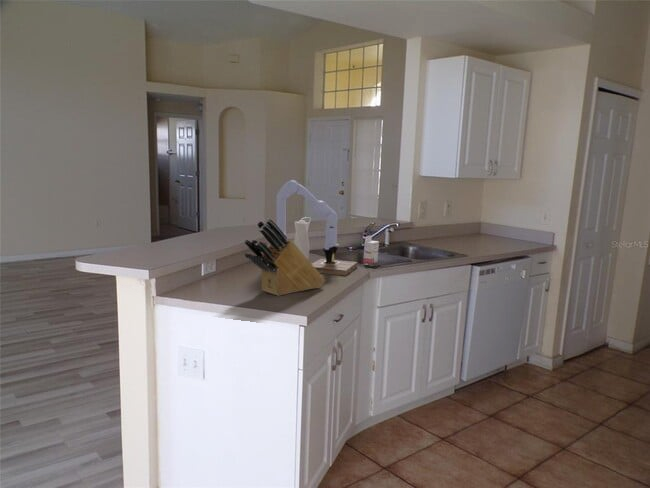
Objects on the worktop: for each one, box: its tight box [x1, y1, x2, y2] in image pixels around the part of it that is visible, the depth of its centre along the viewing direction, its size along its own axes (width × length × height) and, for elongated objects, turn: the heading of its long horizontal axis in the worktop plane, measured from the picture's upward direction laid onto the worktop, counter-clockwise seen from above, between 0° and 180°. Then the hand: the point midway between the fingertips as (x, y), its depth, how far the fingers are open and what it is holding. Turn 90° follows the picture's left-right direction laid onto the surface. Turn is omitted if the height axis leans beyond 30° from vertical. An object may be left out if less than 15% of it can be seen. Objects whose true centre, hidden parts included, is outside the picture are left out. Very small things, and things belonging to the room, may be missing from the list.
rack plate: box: [311, 258, 358, 277], centre depth 252 cm, size 22×20×3 cm
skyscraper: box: [293, 216, 312, 260], centre depth 231 cm, size 8×8×28 cm
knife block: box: [243, 218, 326, 297], centre depth 204 cm, size 11×35×31 cm, turn 132°
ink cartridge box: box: [363, 235, 380, 265], centre depth 272 cm, size 9×5×15 cm, turn 149°
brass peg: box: [326, 253, 335, 264], centre depth 254 cm, size 4×4×6 cm
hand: (330, 261), depth 254 cm, fingers closed on brass peg, 4 cm apart
